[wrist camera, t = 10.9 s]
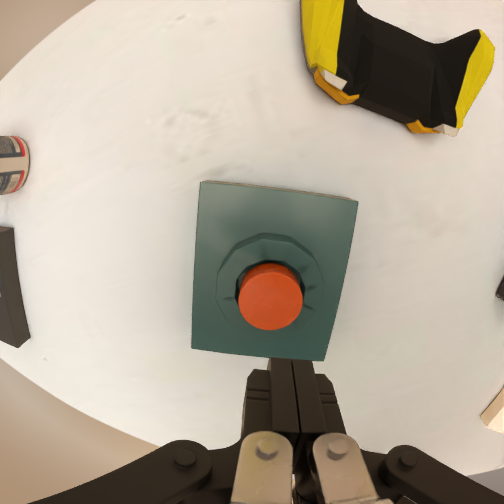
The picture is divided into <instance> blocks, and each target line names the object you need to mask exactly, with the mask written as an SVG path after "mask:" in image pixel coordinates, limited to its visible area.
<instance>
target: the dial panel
mask: <svg viewBox="0 0 504 504" xmlns="http://www.w3.org/2000/svg"><path fill="white" fill-rule="evenodd" d="M29 338H30V334H29V330H28V325H27V321H26V317H25V312H24V307H23V302H22V297H21V291H20V285H19V278H18V272H17V264H16V255H15V245H14V232H13V228H8V227H0V340H1V341H3V342H5V343H7V344H9V345H12V346H14V347H16V348H19V347H20V346H21V345H22V344H23V343H25V342H26V341H27V340H28V339H29Z"/></svg>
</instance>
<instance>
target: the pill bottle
mask: <svg viewBox="0 0 504 504" xmlns="http://www.w3.org/2000/svg"><path fill="white" fill-rule="evenodd" d="M28 168H29V154H28V149H27V146H26V144H25V143H24V141H23V140H22V139H21V138H19V137H16V136H0V195H3V194H8V193H12V192H15V191H17V190H18V189H19V188H20V187H21V186H22V185H23V183H24V181H25V179H26V176H27V173H28Z"/></svg>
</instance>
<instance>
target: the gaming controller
mask: <svg viewBox="0 0 504 504" xmlns="http://www.w3.org/2000/svg"><path fill="white" fill-rule="evenodd" d="M300 19H301V36H302V42H303V48H304V54H305V60H306V64H307V67H308V69H309V72H311V73H312V74H313V76H314V78H315V82H316V83H317V84H318V85H319V86H320V87H321V88H322V89H323V90H325V91H326V92H327V93H328V94H329V95H330V96H331V97H332V98H333V99H334V100H336V101H337V102H339V103H340V104H342V105H343V104H348V103H353V104H356V105H359V106H361V107H364V108H367V109H369V110H372V111H375V112H377V113H380V114H382V115H385V116H387V117H389V118H392V119H394V120H397V121H399V122H401V123H403V124H406V125H407V127H408V128H409V129H410V130H411V132H414V133H443V134H446V135H449V136H452V137H453V136H456V135H457V133H458V131H459V129H460V128H462V126H463V119H464V117H465V115H466V114H467V112H468V110H469V109H470V107H471V105H472V103H473V102H474V100H475V98H476V96H477V95H478V93H479V91H480V90H481V88H482V86H483V85H484V83H485V81H486V79H487V78H488V76H489V74H490V72H491V70H492V67H493V63H494V52H495V47H494V45H493V44H492V43H491V41H490V40H489V38H488V37H487V36H486V35H485V33H484V32H483V31H482V30H480V29H476V30H472V31H470V32H467V33H465V34H463V35H461V36H458V37H456V38H454V39H451V40H449V41H447V42H444V43H439V44H433V43H430V42H427V41H424V40H422V39H420V38H418V37H416V36H414V35H412V34H410V33H408V32H406V31H404V30H402V29H400V28H398V27H396V26H393V25H391V24H389V23H386V22H384V21H382V20H379V19H377V18H374V17H372V16H371V15H369V14H367V13H366V12H364V11H363V9H362V8H361V7H360V6H359V5H358V3H357V0H300Z"/></svg>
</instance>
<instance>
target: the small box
mask: <svg viewBox="0 0 504 504" xmlns="http://www.w3.org/2000/svg"><path fill="white" fill-rule="evenodd" d="M497 297H498V298H501V299H502V300H503V301H504V280H503V282H502V284H501V286H500V289H499V291H498V293H497Z"/></svg>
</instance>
